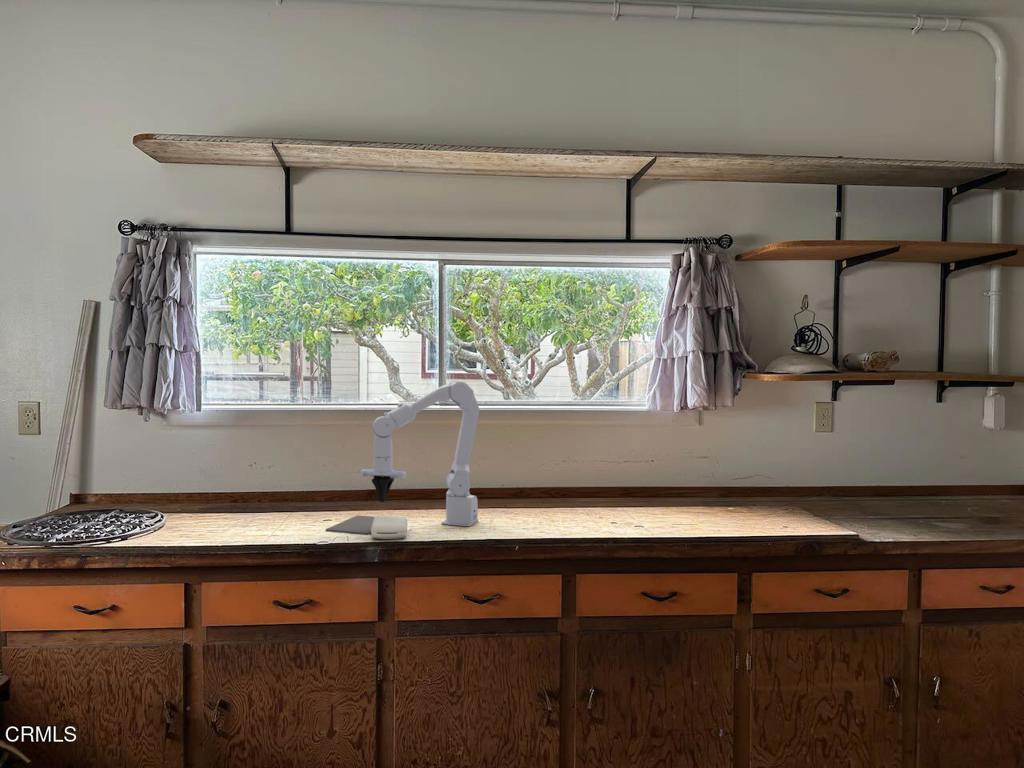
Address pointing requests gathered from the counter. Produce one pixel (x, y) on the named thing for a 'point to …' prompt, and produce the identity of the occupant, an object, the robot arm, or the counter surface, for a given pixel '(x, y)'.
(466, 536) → the counter surface
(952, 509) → the counter surface
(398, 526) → the photo printer
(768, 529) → the counter surface
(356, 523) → the mat
